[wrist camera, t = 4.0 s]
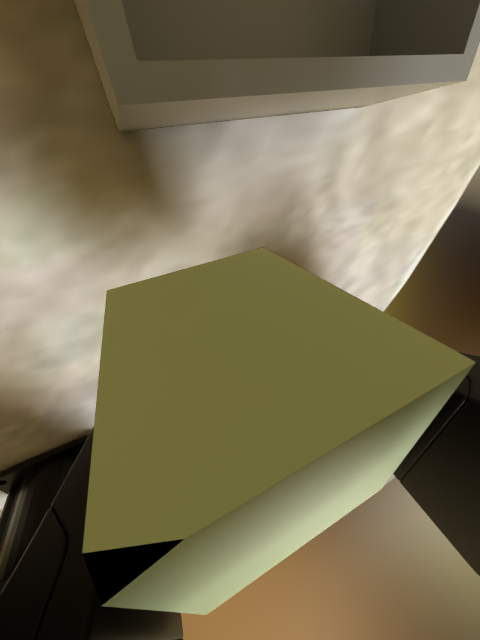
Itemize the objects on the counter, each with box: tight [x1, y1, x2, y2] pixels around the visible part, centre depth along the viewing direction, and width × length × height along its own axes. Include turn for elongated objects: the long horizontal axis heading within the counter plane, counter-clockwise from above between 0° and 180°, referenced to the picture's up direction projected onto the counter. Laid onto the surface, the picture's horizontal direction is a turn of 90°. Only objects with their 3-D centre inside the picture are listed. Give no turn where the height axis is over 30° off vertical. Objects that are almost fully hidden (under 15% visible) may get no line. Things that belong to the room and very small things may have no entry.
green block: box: [82, 247, 476, 615], centre depth 6 cm, size 5×5×6 cm
